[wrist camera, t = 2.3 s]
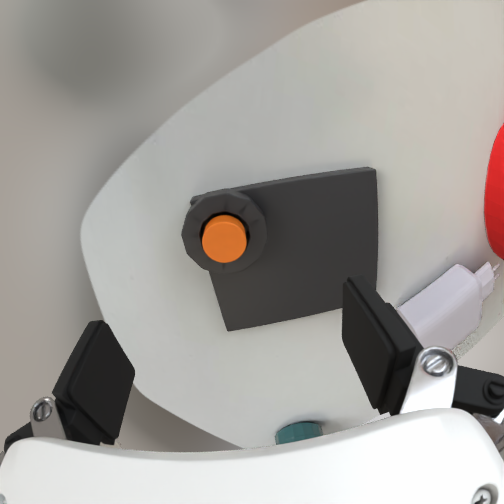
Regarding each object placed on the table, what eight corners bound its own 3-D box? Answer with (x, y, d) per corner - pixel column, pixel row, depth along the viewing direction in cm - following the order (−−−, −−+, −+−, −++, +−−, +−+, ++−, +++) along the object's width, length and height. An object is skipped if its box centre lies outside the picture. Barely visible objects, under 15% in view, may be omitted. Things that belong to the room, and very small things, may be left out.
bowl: (277, 443, 37) (281, 468, 33) (272, 425, 34) (276, 454, 30) (319, 434, 37) (326, 458, 33) (320, 415, 34) (328, 443, 30)
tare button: (209, 256, 19) (208, 266, 18) (199, 219, 18) (197, 227, 17) (248, 248, 19) (250, 258, 18) (241, 210, 18) (241, 217, 17)
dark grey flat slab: (218, 323, 25) (217, 345, 22) (180, 194, 20) (172, 205, 17) (369, 291, 25) (382, 308, 22) (367, 162, 20) (386, 168, 17)
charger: (487, 284, 27) (409, 348, 30) (484, 232, 24) (394, 304, 26) (508, 302, 23) (425, 373, 25) (511, 248, 19) (415, 332, 22)
